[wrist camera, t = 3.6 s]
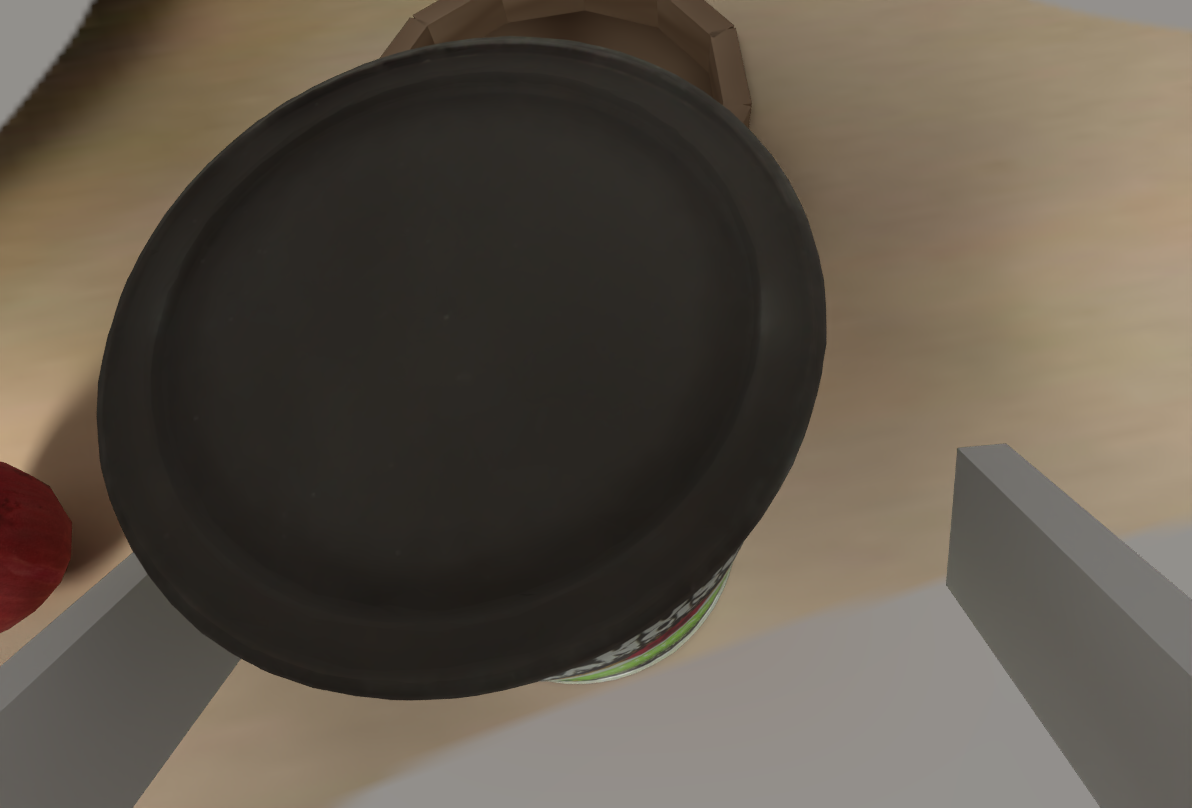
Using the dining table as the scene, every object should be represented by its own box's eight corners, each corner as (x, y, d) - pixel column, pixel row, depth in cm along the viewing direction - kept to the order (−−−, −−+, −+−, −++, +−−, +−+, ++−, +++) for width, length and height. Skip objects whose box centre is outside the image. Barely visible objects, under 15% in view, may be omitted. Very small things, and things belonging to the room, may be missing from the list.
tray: (374, 322, 26) (343, 286, 24) (391, 42, 32) (367, -10, 29) (769, 272, 25) (778, 229, 22) (712, -10, 31) (715, -67, 28)
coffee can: (807, 550, 21) (1013, 352, 8) (536, 757, 20) (259, 919, 7) (617, 323, 25) (548, -61, 12) (379, 485, 24) (8, 252, 11)
